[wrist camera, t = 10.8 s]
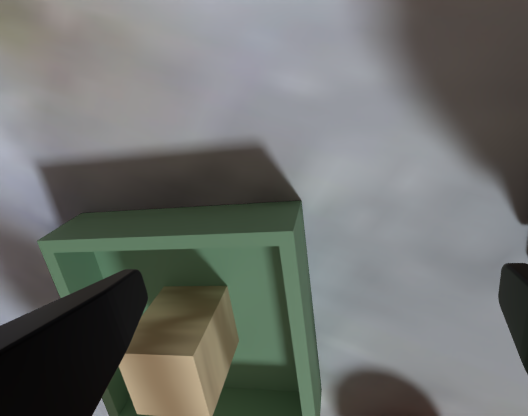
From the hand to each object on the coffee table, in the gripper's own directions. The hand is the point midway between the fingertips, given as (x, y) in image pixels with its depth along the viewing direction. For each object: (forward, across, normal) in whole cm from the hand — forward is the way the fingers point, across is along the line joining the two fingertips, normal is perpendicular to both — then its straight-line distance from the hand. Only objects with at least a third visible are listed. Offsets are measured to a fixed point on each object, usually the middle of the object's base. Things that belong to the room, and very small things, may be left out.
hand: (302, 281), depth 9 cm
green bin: (+12, +9, +10) cm, 18 cm away
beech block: (+11, +9, +10) cm, 17 cm away
